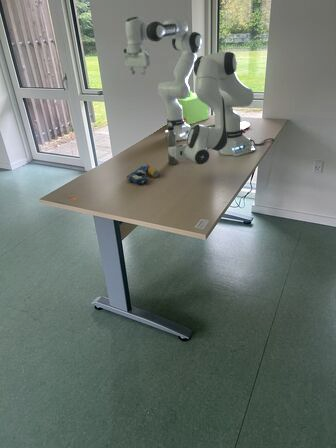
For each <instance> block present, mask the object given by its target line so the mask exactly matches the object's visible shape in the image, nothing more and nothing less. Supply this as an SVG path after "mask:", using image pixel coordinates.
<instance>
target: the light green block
mask: <svg viewBox="0 0 336 448" xmlns="http://www.w3.org/2000/svg"><path fill="white" fill-rule="evenodd" d="M177 101H178V103H179V104H180V105H181V106H182V112H183V118H184V117H185V118H187V120H184V121H185V123H186V124H188V125H189V126H191V125H192V124H196V123H199V122H202V121H205V120H208V119H209V106H208V105H206V104H205V103H203V102H202V101H200V100H199V98H198V97H197V95H196V93H195V92H193V91H191V90H190V93H189V96H188V97H187V98H185V99H177Z"/></svg>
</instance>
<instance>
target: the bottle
mask: <svg viewBox="0 0 336 448" xmlns="http://www.w3.org/2000/svg"><path fill="white" fill-rule="evenodd" d="M166 144H167V145H166V146H167V149H168V148H169V147H174V146H178V145H177V141H176V133H175V132H174V131H173V130H169V132H168V133H167V132H166ZM167 157H168V165H171V166H175V165H178V163H179V160H177V159H175V157H172V156H170V155H169V154H168V153H167Z"/></svg>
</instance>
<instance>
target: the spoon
mask: <svg viewBox="0 0 336 448" xmlns="http://www.w3.org/2000/svg"><path fill="white" fill-rule="evenodd" d="M250 125H251V124H250V123H249V122H248V121H245V120H243V121H241V122H240V129H242V130H247V129H248V128H249V127H250Z"/></svg>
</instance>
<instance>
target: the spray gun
mask: <svg viewBox="0 0 336 448" xmlns="http://www.w3.org/2000/svg"><path fill="white" fill-rule="evenodd" d="M148 174H149V175H150V176H151V177H153V178H158V176H159V174H160V172H159V170H158V169H157V168H154V167H153V166H150V164H140V165H139V166H138V167H137V168H135V169H134V170H133V171H131V172H130V173H129V174H128V175H127V176H126V179H125V181H127V182H129V183H131V182H132V183H134V184H136V185H142V184H146V183H147V182H148V180H149V177H147V175H148Z"/></svg>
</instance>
